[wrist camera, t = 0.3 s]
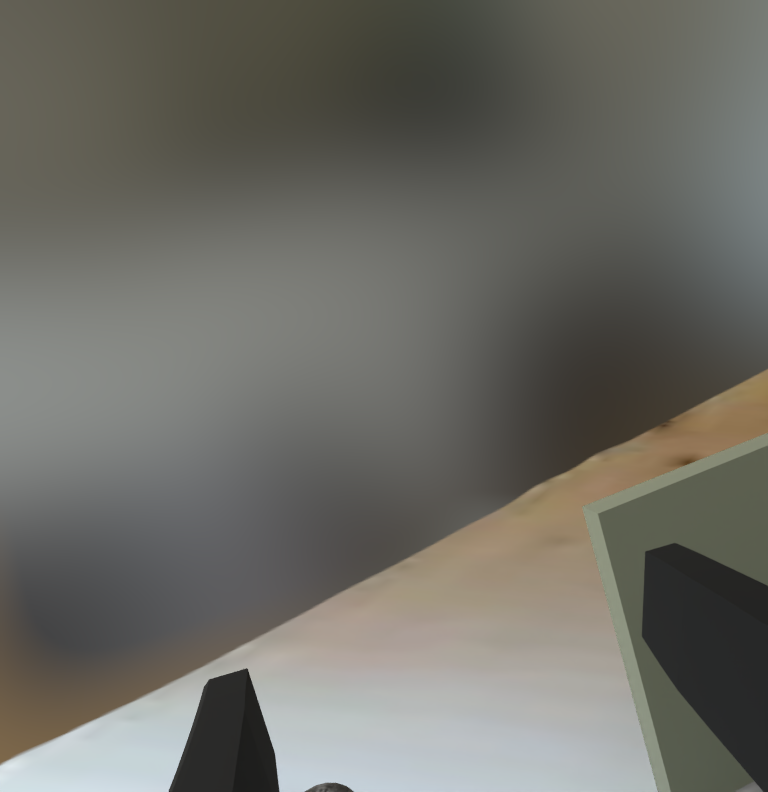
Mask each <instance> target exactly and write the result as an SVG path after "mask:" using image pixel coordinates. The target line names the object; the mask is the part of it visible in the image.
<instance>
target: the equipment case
mask: <svg viewBox="0 0 768 792" xmlns="http://www.w3.org/2000/svg"><path fill="white" fill-rule="evenodd" d="M582 508H583V512H584V516H585V519H586V523H587V527H588V531H589V534H590V538H591V542H592V546H593V549H594V553H595V557H596V561H597V564H598V568H599V572H600V576H601V579H602V583H603V587H604V591H605V595H606V598H607V602H608V606H609V610H610V613H611V617H612V621H613V625H614V628H615V632H616V636H617V640H618V643H619V647H620V651H621V655H622V658H623V662H624V666H625V670H626V673H627V677H628V681H629V685H630V688H631V692H632V696H633V700H634V703H635V707H636V711H637V715H638V718H639V722H640V726H641V730H642V734H643V737H644V741H645V745H646V749H647V752H648V756H649V760H650V764H651V767H652V771H653V775H654V779H655V782H656V786H657V790H658V792H763V791H762V790H761V788H760V787H759V786H758V785H757V784H756V783H755V781H754V780H753V779H752V778H751V777H750V775H749V774H748V773H747V772H746V771H745V770H744V768H743V767H742V766H741V765H740V764H739V763H738V761H737V760H736V759H735V758H734V757H733V755H732V754H731V753H730V752H729V751H728V750H727V748H726V747H725V746H724V745H723V744H722V743H721V741H720V740H719V739H718V738H717V737H716V736H715V734H714V733H713V732H712V731H711V730H710V728H709V727H708V726H707V725H706V724H705V722H704V721H703V720H702V719H701V718H700V717H699V715H698V714H697V713H696V712H695V711H694V709H693V708H692V707H691V706H690V705H689V703H688V702H687V701H686V700H685V698H684V697H683V696H682V695H681V694H680V692H679V691H678V690H677V689H676V687H675V686H674V684H673V683H672V681H671V680H670V678H669V677H668V676H667V674H666V673H665V671H664V670H663V668H662V667H661V665H660V664H659V662H658V661H657V659H656V658H655V656H654V655H653V653H652V652H651V650H650V648H649V647H648V645H647V644H646V642H645V641H644V639H643V638H642V618H643V593H644V569H645V551H649V550H652V549H655V548H659V547H662V546H666V545H669V544H672V543H677V544H679V545H682V546H684V547H686V548H689V549H691V550H693V551H695V552H698V553H700V554H702V555H704V556H706V557H708V558H710V559H713V560H715V561H717V562H719V563H721V564H723V565H725V566H727V567H730V568H732V569H734V570H736V571H738V572H740V573H742V574H744V575H746V576H748V577H751V578H753V579H755V580H757V581H759V582H761V583H763V584H765V585H768V433H766V434H764V435H761V436H759V437H756V438H754V439H751V440H749V441H746V442H744V443H741V444H739V445H736V446H734V447H731V448H729V449H726V450H723V451H721V452H718V453H716V454H713V455H711V456H708V457H706V458H703V459H701V460H698V461H696V462H693V463H691V464H688V465H686V466H683V467H681V468H678V469H676V470H673V471H671V472H668V473H666V474H663V475H661V476H658V477H656V478H653V479H650V480H648V481H645V482H643V483H640V484H638V485H635V486H633V487H630V488H628V489H625V490H623V491H620V492H618V493H615V494H613V495H610V496H608V497H605V498H603V499H600V500H598V501H595V502H593V503H590V504H588V505H585V506H582Z"/></svg>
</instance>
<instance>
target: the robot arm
mask: <svg viewBox="0 0 768 792" xmlns="http://www.w3.org/2000/svg"><path fill="white" fill-rule="evenodd" d="M642 638H643V639H644V641H645V642H646V644H647V645H648V647H649V648H650V650H651V652H652V653H653V655H654V656H655V658H656V659H657V661H658V662H659V664H660V665H661V667H662V668H663V670H664V671H665V673H666V674H667V676H668V677H669V678H670V680H671V681H672V683H673V684H674V686H675V687H676V689H677V690H678V691H679V692H680V694H681V695H682V696H683V697H684V698H685V700H686V701H687V702H688V703H689V705H690V706H691V707H692V708H693V709H694V711H695V712H696V713H697V714H698V715H699V717H700V718H701V719H702V720H703V721H704V722H705V724H706V725H707V726H708V727H709V728H710V730H711V731H712V732H713V733H714V734H715V736H716V737H717V738H718V739H719V740H720V741H721V743H722V744H723V745H724V746H725V747H726V748H727V750H728V751H729V752H730V753H731V754H732V755H733V757H734V758H735V759H736V760H737V761H738V763H739V764H740V765H741V766H742V767H743V768H744V770H745V771H746V772H747V773H748V774H749V775H750V777H751V778H752V779H753V780H754V781H755V783H756V784H757V785H758V786H759V787H760V788H761V790H762V791H763V792H768V585H765V584H763V583H761V582H759V581H757V580H755V579H753V578H751V577H748V576H746V575H744V574H742V573H740V572H738V571H736V570H734V569H732V568H730V567H727V566H725V565H723V564H721V563H719V562H717V561H715V560H713V559H710V558H708V557H706V556H704V555H702V554H700V553H698V552H695V551H693V550H691V549H689V548H686V547H684V546H682V545H679V544H677V543H672V544H669V545H666V546H662V547H659V548H655V549H652V550H649V551H645V569H644V593H643V618H642ZM169 792H279V785H278V777H277V768H276V759H275V753H274V749H273V746H272V743H271V740H270V737H269V734H268V731H267V728H266V725H265V721H264V718H263V715H262V712H261V709H260V706H259V703H258V700H257V697H256V694H255V690H254V687H253V684H252V681H251V678H250V675H249V672H248V669H243V670H240V671H237V672H233V673H230V674H226V675H223V676H220V677H216V678H213V679H209V681H208V682H207V684H206V685H205V686H204V689H203V693H202V696H201V700H200V703H199V706H198V710H197V713H196V716H195V719H194V722H193V725H192V728H191V731H190V734H189V737H188V740H187V743H186V746H185V749H184V752H183V754H182V757H181V760H180V763H179V766H178V768H177V771H176V774H175V776H174V779H173V782H172V784H171V787H170V789H169Z"/></svg>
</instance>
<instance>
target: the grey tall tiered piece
mask: <svg viewBox="0 0 768 792" xmlns="http://www.w3.org/2000/svg"><path fill="white" fill-rule="evenodd" d="M305 792H353V791H352V790H351V789H349V788H348V787H347V786H344V785H341V784H338V783H324V784H320V785H316V786H314V787H312V788H310V789H309V790H307V791H305Z"/></svg>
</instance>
